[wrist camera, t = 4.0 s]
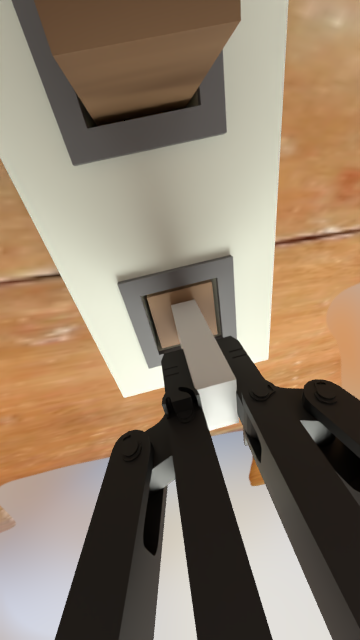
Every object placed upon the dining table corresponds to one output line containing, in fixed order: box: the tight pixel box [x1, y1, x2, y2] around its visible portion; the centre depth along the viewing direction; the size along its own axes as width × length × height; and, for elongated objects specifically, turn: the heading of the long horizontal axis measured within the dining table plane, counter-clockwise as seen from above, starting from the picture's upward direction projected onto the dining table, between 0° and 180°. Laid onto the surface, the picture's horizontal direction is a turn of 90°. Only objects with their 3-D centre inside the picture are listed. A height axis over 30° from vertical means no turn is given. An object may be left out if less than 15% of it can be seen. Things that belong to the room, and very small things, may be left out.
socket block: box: [0, 0, 288, 398], centre depth 13 cm, size 24×12×6 cm, turn 11°
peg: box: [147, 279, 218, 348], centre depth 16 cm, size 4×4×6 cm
